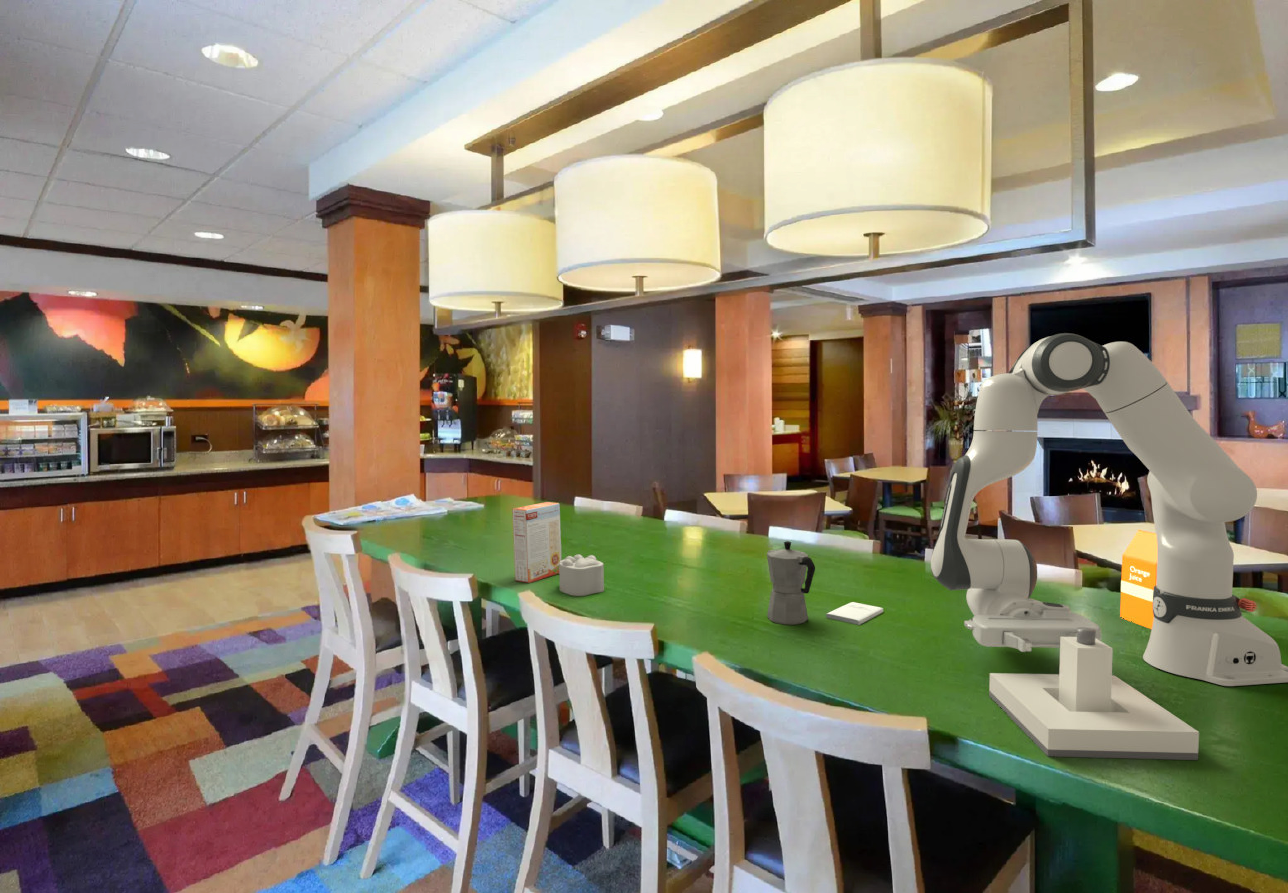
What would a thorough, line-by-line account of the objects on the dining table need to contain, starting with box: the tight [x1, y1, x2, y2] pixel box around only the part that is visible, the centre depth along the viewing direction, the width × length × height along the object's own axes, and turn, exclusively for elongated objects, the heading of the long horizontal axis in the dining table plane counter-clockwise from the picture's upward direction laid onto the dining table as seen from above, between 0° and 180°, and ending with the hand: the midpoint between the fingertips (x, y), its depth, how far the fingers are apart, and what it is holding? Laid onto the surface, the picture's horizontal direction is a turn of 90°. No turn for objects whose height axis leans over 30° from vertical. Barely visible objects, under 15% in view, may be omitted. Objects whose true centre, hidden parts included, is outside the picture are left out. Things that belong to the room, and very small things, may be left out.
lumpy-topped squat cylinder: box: [558, 554, 605, 597], centre depth 190 cm, size 10×13×9 cm
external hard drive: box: [825, 601, 884, 626], centre depth 164 cm, size 2×8×12 cm
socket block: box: [988, 672, 1200, 761], centre depth 108 cm, size 20×20×4 cm
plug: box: [1058, 627, 1114, 712], centre depth 108 cm, size 5×5×14 cm
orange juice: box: [1119, 529, 1157, 630], centre depth 155 cm, size 8×9×20 cm
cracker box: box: [511, 501, 562, 584], centre depth 202 cm, size 14×6×21 cm, turn 144°
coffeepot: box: [766, 540, 816, 626], centre depth 160 cm, size 15×9×18 cm, turn 28°
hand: (1056, 647), depth 116 cm, fingers open, 8 cm apart
